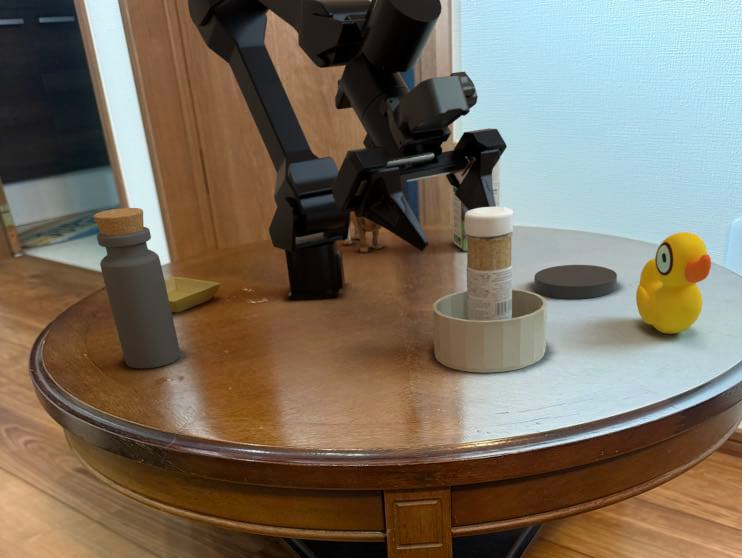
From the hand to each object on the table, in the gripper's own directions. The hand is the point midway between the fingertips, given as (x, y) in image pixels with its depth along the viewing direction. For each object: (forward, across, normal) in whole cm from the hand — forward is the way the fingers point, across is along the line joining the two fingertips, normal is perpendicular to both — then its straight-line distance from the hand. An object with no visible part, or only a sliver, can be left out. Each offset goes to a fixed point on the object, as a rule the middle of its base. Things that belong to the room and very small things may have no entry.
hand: (461, 239), depth 79 cm
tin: (+10, 0, +5) cm, 11 cm away
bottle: (-7, -26, +22) cm, 35 cm away
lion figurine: (-25, +20, +40) cm, 51 cm away
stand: (+4, +23, +12) cm, 26 cm away
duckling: (+17, +17, -1) cm, 24 cm away
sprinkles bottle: (+10, 0, +5) cm, 11 cm away
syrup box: (-15, +30, +30) cm, 45 cm away
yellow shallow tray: (-20, -15, +35) cm, 43 cm away
